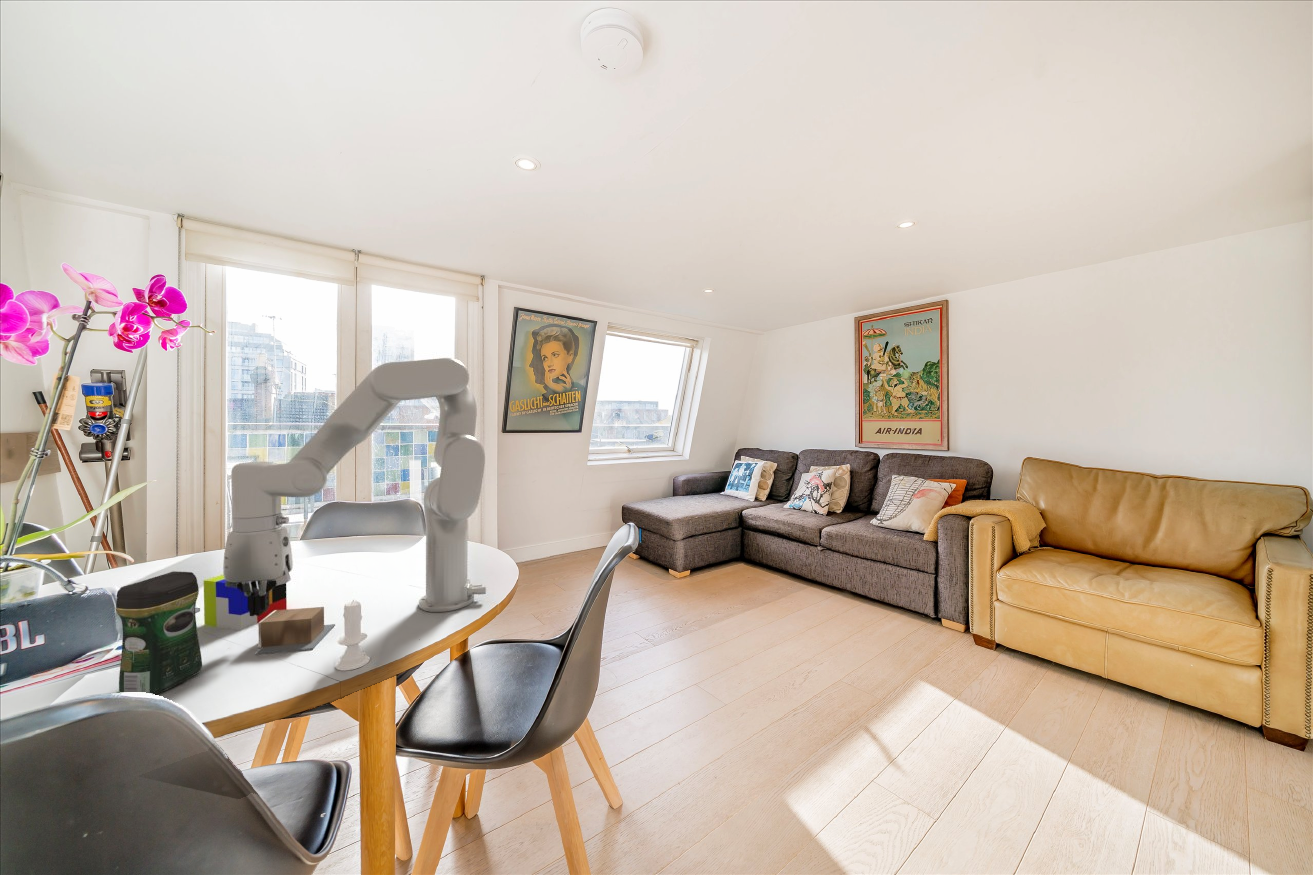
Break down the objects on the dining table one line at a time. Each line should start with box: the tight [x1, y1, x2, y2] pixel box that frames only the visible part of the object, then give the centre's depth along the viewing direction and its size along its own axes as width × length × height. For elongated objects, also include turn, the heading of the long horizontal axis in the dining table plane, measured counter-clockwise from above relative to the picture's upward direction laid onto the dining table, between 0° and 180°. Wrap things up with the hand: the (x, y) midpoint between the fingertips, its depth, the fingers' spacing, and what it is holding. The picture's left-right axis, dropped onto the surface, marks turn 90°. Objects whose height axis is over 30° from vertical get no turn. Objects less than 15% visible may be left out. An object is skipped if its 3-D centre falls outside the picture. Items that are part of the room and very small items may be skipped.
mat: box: [255, 623, 336, 656], centre depth 97 cm, size 10×11×1 cm
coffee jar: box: [115, 570, 203, 695], centre depth 80 cm, size 10×8×19 cm
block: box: [257, 606, 325, 648], centre depth 96 cm, size 5×6×9 cm
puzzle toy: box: [203, 574, 288, 631], centre depth 106 cm, size 10×10×10 cm
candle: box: [335, 599, 370, 672], centre depth 88 cm, size 5×5×12 cm
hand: (258, 613), depth 95 cm, fingers closed
